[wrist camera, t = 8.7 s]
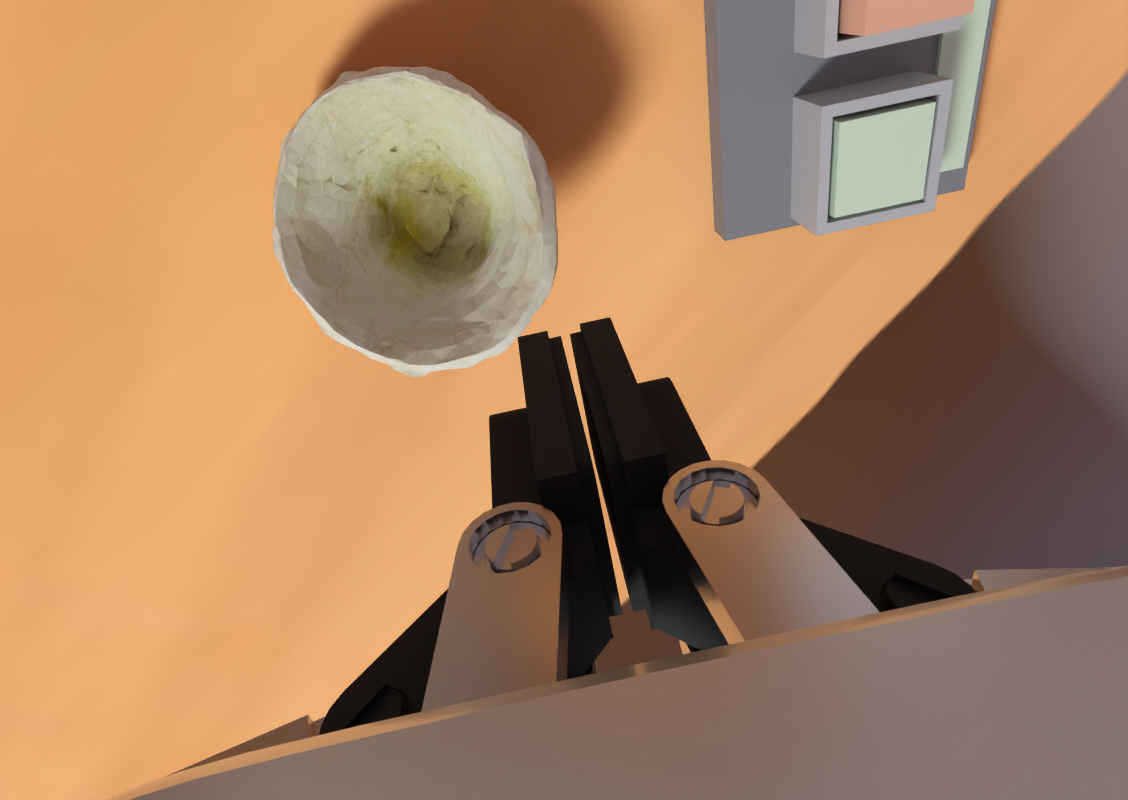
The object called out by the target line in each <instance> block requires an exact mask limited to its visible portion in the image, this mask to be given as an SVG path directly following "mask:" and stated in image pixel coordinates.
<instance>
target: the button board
mask: <svg viewBox="0 0 1128 800" xmlns="http://www.w3.org/2000/svg"><path fill="white" fill-rule="evenodd" d="M995 4H996V0H975V4H974V10H973V13H971V14H967V15H962V16H957V17H953V18H948V19H943V20H939V21H934V22H930V23H925V24H920V25H916V26H911V27H906V28H902V29H897V30H892V31H888V32H883V33H878V34H874V35H869V36H858V35H850V34H843V33H837V31H838V13H839V0H704V11H705V33H706V54H707V75H708V97H709V118H710V139H711V161H712V182H713V203H714V225H715V231H716V232H717V233H718V234H719V235H720V236H721V237H722V238H723V239H724V240H725V241H727V240H731V239H736V238H740V237H745V236H750V235H754V234H759V233H764V232H768V231H773V230H778V229H782V228H787V227H792V226H796V225H802V226H803V227H805V228H806V229H807V230H809V231H810V232H811V233H813V234H814V235H816V236H819V235H823V234H828V233H833V232H837V231H842V230H847V229H851V228H856V227H860V226H865V225H870V224H874V223H879V222H884V221H888V220H893V219H898V218H902V217H907V216H912V215H916V214H921V213H925V212H930V211H934V209H935V203H936V196H937V195H940V194H945V193H949V192H954V191H959V190H963V189H964V186H965V181H966V175H967V169H968V163H969V157H970V151H971V145H972V139H973V134H974V128H975V122H976V116H977V110H978V104H979V98H980V92H981V87H982V81H983V75H984V69H985V63H986V57H987V51H988V45H989V40H990V34H991V28H992V22H993V16H994V10H995ZM919 98H922V99H926V100H930V101H934V102H936V105H935V113H934V120H933V127H932V135H931V142H930V150H929V157H928V164H927V172H926V179H925V186H924V194H923V199H921V200H916V201H911V202H907V203H902V204H898V205H893V206H888V207H884V208H879V209H874V210H870V211H865V212H860V213H856V214H851V215H846V216H842V217H837V218H833V217H832V216H830V215H829V214H828V199H829V181H830V162H831V143H832V125H833V117H835V116H840V115H845V114H849V113H854V112H859V111H863V110H868V109H873V108H877V107H882V106H887V105H891V104H896V103H901V102H905V101H910V100H914V99H919Z"/></svg>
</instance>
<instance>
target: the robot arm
mask: <svg viewBox="0 0 1128 800" xmlns="http://www.w3.org/2000/svg"><path fill="white" fill-rule="evenodd" d="M580 329H581V332H577V333H573V334H570V337H571V343H572V348H573V353H574V358H575V363H576V368H577V373H578V379H579V384H580V389H581V394H582V399H583V404H584V409H585V414H586V420H587V425H588V430H589V435H590V440H591V445H592V450H593V455H594V460H595V464H596V469H597V473H598V476H599V480H600V484H601V488H602V492H603V496H604V500H605V504H606V508H607V512H608V516H609V520H610V524H611V527H612V531H613V535H614V539H615V543H616V547H617V551H618V555H619V559H620V563H621V567H622V571H623V575H624V579H625V582H626V586H627V590H628V594H629V598H630V602H631V606H632V610H633V611H638V610H643V609H646V612H647V616H648V619H649V623H650V627H651V630H653V629H657V628H658V629H660V630H661V631H663V632H665V633H667V634H669V635H671V636H673V637H675V638H677V639H679V640H680V646H681V649H682V652H683V655H678V656H673V657H669V658H664V659H659V660H655V661H650V662H646V663H641V664H637V665H632V666H627V667H623V668H618V669H613V670H609V671H604V672H600V673H597V668H596V663H595V659H596V658H597V657H598V655H599V654H600V653H601V651H602V650H603V649H604V647H605V646H606V645H607V643H608V642H609V641H610V639H611V638H613V634H612V629H611V625H610V620H609V617H611V616H615V615H620V614H622V610H621V604H620V599H619V594H618V589H617V584H616V579H615V574H614V569H613V564H612V559H611V554H610V549H609V544H608V539H607V533H606V528H605V523H604V518H603V513H602V508H601V503H600V498H599V493H598V488H597V483H596V478H595V474H594V469H593V465H592V460H591V456H590V452H589V448H588V444H587V440H586V436H585V432H584V428H583V424H582V420H581V416H580V412H579V408H578V404H577V400H576V396H575V392H574V388H573V384H572V380H571V376H570V372H569V368H568V364H567V359H566V355H565V351H564V347H563V343H562V339H561V336H559V337H554V338H550V339H549V337H548V332H547V331H544V332H540V333H535V334H530V335H526V336H521V337H518V344H519V352H520V360H521V368H522V375H523V383H524V391H525V399H526V407H527V408H522V409H517V410H513V411H508V412H503V413H499V414H494V415H490V417H489V429H490V456H491V484H492V509H491V510H489V511H486V512H484V513H483V514H482V515H480V516H479V517H478V518H476V519H475V520H474V521H472V522H471V524H470V525H469V526H468V527H467V529H466V530H465V531H464V532H463V534H462V536H461V539H460V541H459V544H458V547H457V552H456V556H455V561H454V565H453V570H452V574H451V579H450V583H449V588H448V589H447V590H446V591H445V592H444V593H443V594H442V595H441V596H440V597H439V598H438V599H437V600H436V601H435V602H434V603H433V604H432V605H431V606H430V607H429V608H428V609H427V610H426V611H425V612H424V613H423V614H422V615H421V616H420V617H419V618H418V619H417V620H416V621H415V622H414V623H413V624H412V625H411V626H410V627H409V628H408V629H407V630H406V631H405V632H404V633H403V634H402V635H401V636H400V637H399V638H398V639H397V640H396V641H394V642H393V643H392V644H391V645H390V646H389V647H388V648H387V649H386V650H385V651H384V652H383V653H382V654H381V655H380V656H379V657H378V658H377V659H376V660H375V661H374V662H373V663H372V664H371V665H370V666H369V667H368V668H367V669H366V670H365V671H364V672H363V673H362V674H361V675H360V676H359V677H358V678H357V679H356V680H355V681H354V682H353V683H352V684H351V685H350V686H349V687H348V688H347V689H346V690H345V691H344V692H343V693H342V694H341V695H340V697H339V698H338V699H337V700H336V701H335V703H334V704H333V705H332V706H331V708H330V709H329V711H328V713H327V715H326V717H323V718H321V719H319V720H316V721H314V722H313V721H312V720H311V718H310V717H309V715H306V716H304V717H301V718H299V719H297V720H295V721H292V722H290V723H288V724H285V725H283V726H281V727H278V728H276V729H274V730H271V731H269V732H267V733H265V734H262V735H260V736H258V737H255V738H253V739H251V740H248V741H246V742H244V743H242V744H239V745H237V746H235V747H232V748H230V749H228V750H225V751H223V752H221V753H218V754H216V755H214V756H212V757H209V758H207V759H205V760H202V761H200V762H198V763H195V764H193V765H191V766H188V767H186V768H184V769H182V770H179V771H177V772H175V773H172V774H170V775H168V776H165V777H163V778H161V779H158V780H155V781H152V782H149V783H146V784H144V785H141V786H138V787H135V788H132V789H130V790H127V791H125V792H123V793H121V794H119V795H116V796H114V797H112V798H110V799H108V800H1128V566H1121V567H1115V568H1071V569H1070V568H1069V569H1021V570H1020V569H1018V570H975V572H974V575H973V579H961V578H960V577H959V576H957V575H956V574H955V573H952V572H950V571H948V570H946V569H944V568H942V567H939V566H937V565H935V564H932V563H930V562H927V561H924V560H921V559H918V558H915V557H912V556H909V555H906V554H903V553H900V552H898V551H895V550H892V549H889V548H886V547H883V546H880V545H877V544H874V543H871V542H868V541H866V540H862V539H860V538H857V537H854V536H851V535H848V534H845V533H842V532H839V531H836V530H833V529H830V528H827V527H825V526H822V525H819V524H816V523H813V522H810V521H807V520H804V519H801V518H799V517H797V515H796V514H795V513H794V512H793V511H792V510H791V509H790V507H789V506H788V505H787V504H786V503H785V502H784V501H783V499H782V498H781V497H780V496H779V495H778V493H777V492H776V491H775V490H774V489H773V488H772V487H771V485H770V484H769V483H768V482H767V481H766V480H765V479H764V478H763V477H762V476H761V475H760V474H759V473H757V472H756V471H755V470H753V469H751V468H749V467H747V466H745V465H742V464H740V463H735V462H730V461H725V460H715V461H711V459H710V457H709V455H708V453H707V451H706V449H705V447H704V445H703V443H702V441H701V439H700V437H699V435H698V433H697V431H696V429H695V427H694V425H693V423H692V421H691V419H690V417H689V415H688V413H687V411H686V409H685V407H684V405H683V403H682V401H681V399H680V397H679V395H678V393H677V391H676V389H675V387H674V385H673V383H672V381H671V380H670V378H668V377H666V378H661V379H656V380H652V381H647V382H643V383H638V384H637V382H636V379H635V377H634V374H633V372H632V369H631V367H630V365H629V362H628V360H627V357H626V355H625V352H624V350H623V348H622V345H621V343H620V340H619V338H618V335H617V333H616V331H615V328H614V326H613V323H612V321H611V319H610V317H609V318H605V319H600V320H595V321H591V322H586V323H581V324H580Z"/></svg>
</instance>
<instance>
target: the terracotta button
mask: <svg viewBox="0 0 1128 800" xmlns="http://www.w3.org/2000/svg"><path fill="white" fill-rule="evenodd" d="M974 4H975V0H839V13H838V31H837V33H843V34H850V35H858V36H869V35H874V34H878V33H883V32H888V31H892V30H897V29H902V28H906V27H911V26H916V25H920V24H925V23H930V22H934V21H939V20H943V19H948V18H953V17H957V16H962V15H967V14H971V13H973V10H974Z"/></svg>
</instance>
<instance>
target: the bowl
mask: <svg viewBox="0 0 1128 800" xmlns="http://www.w3.org/2000/svg"><path fill="white" fill-rule="evenodd" d="M273 217H274V228H273V231H272V235H273V248H274V253H275V256H276V257H277V259H278V260H279V262H280V265H281V267H282V269H283V271H284V274H285V276H286V278H287V280H288V283H289V284H290V286H291V287H292V289H293V290H294V292H295V293H296V294H297V295H298V296H299V297H300V298H301V299H302V300H303V302H304V303H305V304H306V306H307V307H308V308H309V310H310V312H311V313H312V315H313V317H314V318H315V320H316V321H317V322H318V323H319V325H320V327H321V329H322V331H323V332H324V333H326V334H327V335H328V336H329V337H331V338H333V339H334V340H336V341H338V342H339V343H342V344H344V345H346V346H348V347H350V348H354V349H356V350H358V351H360V352H361V353H363V354H365V355H366V356H367V357H368V358H371V359H374V360H376V361H379V362H382V363H385V364H389V365H391V367H392V368H393V369H394V370H396V371H399V372H402V373H404V374H406V375H408V376H412V377H420V376H424V375H427V374H428V373H430V372H432V371H439V370H447V369H461V368H467V367H472V366H474V365H475V364H477V363H479V362H481V361H483V360H485V359H487V358H492V357H494V356H497V355H499V354H501V353H503V352H504V351H505V350H506V349H507V348H508V347H509V346H510V345H511V344H512V342H513V341H514V340H515V339H516V338H517V337H518V336H519V335H520V334H521V333H522V332H523V331H524V330H525V329H526V327H527V326H528V325H529V324H530V321H531V318H532V316H533V315H534V314H535V313H536V312H537V311H538V310H539V308H540V307H541V305H542V304H543V302H544V301H545V299H546V298H547V296H548V294H549V293H550V291H551V288H552V284H553V281H554V278H555V274H556V270H557V265H558V234H557V225H556V198H555V188H554V185H553V181H552V178H551V177H550V176H549V173H548V169H547V165H546V162H545V160H544V158H543V155H542V153H541V151H540V149H539V147H538V145H537V144H536V142H535V141H534V140H533V139H532V138H531V137H530V135H529V134H528V133H527V131H526V130H525V129H524V128H523V127H522V126H521V125H520V124H519V123H517V122H516V121H515V120H513V119H512V118H511V117H510V116H508V115H507V114H505V113H503V112H501V111H499V110H497V109H496V108H495V107H494V106H493V105H492V104H491V103H490V102H489V101H488V100H487V99H486V98H485V97H484V96H482V95H481V94H480V93H479V92H477V91H476V90H475V89H474V88H473V87H472V86H470V85H468V84H465V83H463V82H461V81H459V80H458V79H457V78H455V77H454V76H453V75H452V74H450V73H448V72H443V71H439V70H436V69H433V68H430V67H426V66H421V67H387V66H381V67H373V68H371V69H369V70H367V71H362V72H360V71H346V72H344V73H342V74H340V76H339V78H338V80H337V81H336V82H335V83H334V84H333V85H332V86H331V87H329V88H327V89H326V90H324V91H323V92H322V93H321V94H320V95H319V96H317V97H316V98H315V100H314V101H313V103H312V104H311V105H310V107H309V108H308V109H307V110H305V111H304V112H303V113H302V115H301V116H300V117H299V119H298V121H297V123H296V124H295V126H294V127H293V128H292V129H291V130H290V131H289V132H288V134H287V135H286V136H285V138H284V140H283V142H282V147H281V154H280V161H279V167H278V173H277V178H276V184H275V189H274V203H273Z"/></svg>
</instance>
